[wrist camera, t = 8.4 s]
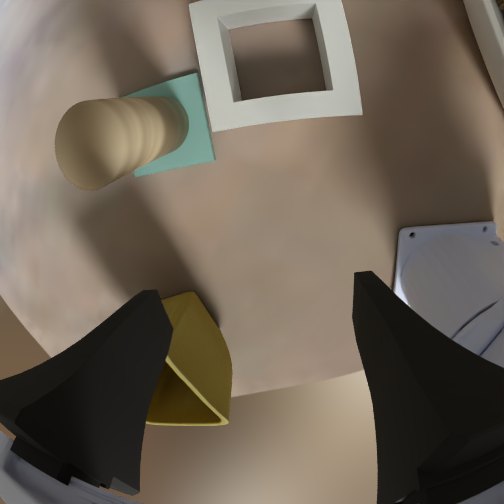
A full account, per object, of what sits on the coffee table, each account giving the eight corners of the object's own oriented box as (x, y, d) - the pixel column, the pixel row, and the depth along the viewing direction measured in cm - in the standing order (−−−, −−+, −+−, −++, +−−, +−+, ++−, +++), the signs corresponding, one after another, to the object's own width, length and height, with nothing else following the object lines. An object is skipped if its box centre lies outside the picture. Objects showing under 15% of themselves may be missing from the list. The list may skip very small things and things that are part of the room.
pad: (198, 73, 15) (196, 72, 15) (215, 159, 18) (214, 160, 18) (120, 98, 17) (117, 99, 16) (138, 175, 19) (135, 177, 19)
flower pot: (124, 290, 25) (75, 359, 17) (200, 263, 22) (157, 348, 14) (174, 354, 28) (145, 424, 21) (248, 340, 26) (231, 425, 18)
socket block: (329, -1, 12) (336, -18, 9) (351, 113, 15) (362, 115, 13) (203, 17, 13) (188, 4, 11) (224, 127, 17) (212, 132, 14)
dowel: (184, 90, 16) (114, 87, 9) (193, 148, 18) (132, 181, 11) (130, 105, 16) (48, 117, 9) (141, 159, 18) (66, 197, 11)
